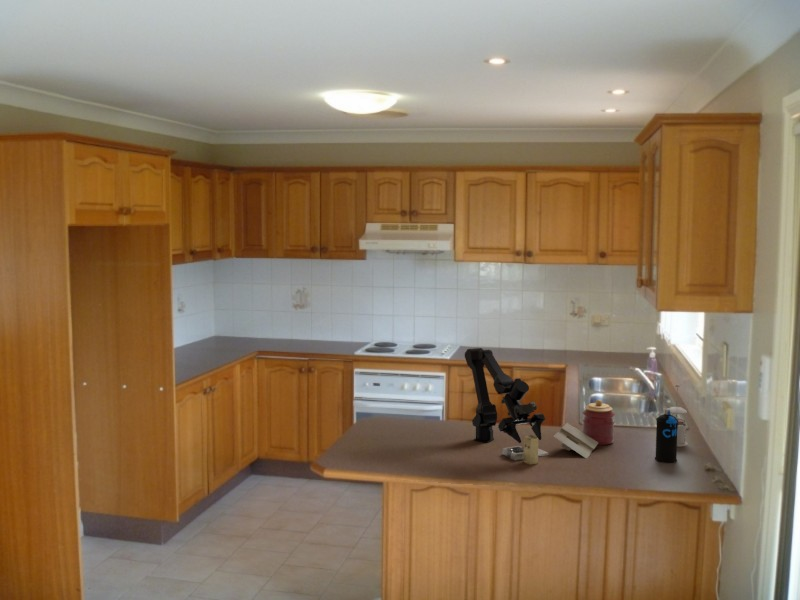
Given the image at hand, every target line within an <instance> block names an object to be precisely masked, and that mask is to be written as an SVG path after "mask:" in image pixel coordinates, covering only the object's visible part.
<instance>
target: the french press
mask: <svg viewBox="0 0 800 600" xmlns="http://www.w3.org/2000/svg"><path fill="white" fill-rule="evenodd" d="M674 387H675V388H676V394H678V391H679V388H680V387H681V386H680V384H679V383H675V384H674ZM675 405H676V406H671V407H669V408H667V409H670V414H671V415H673V416H674V415H675V417H676V418H677V420H678V429H677V447H686V446H688V442H687V441H686V435H687V433H686V431H687V430H686V429H687V425H686V420H685V419H682V418H678V416H677V415H685V414H687V410H686V409H684V408H682V407H680V406H678V402H676V403H675Z"/></svg>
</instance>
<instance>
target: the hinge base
mask: <svg viewBox="0 0 800 600" xmlns="http://www.w3.org/2000/svg"><path fill="white" fill-rule="evenodd" d="M502 455H503V456H505V457H506V458H508V459H511V460H514V461H524V445H523V446H521V445H515V446H508V447H503V448H502ZM549 455H550V454H549V452H547V451H545V450H543V449H541V448H539V447H538V458H539V457H544V456H549Z"/></svg>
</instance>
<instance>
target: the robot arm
mask: <svg viewBox="0 0 800 600" xmlns="http://www.w3.org/2000/svg"><path fill="white" fill-rule="evenodd" d="M464 359H465V362H466V365H467V366H468V367H469V368H470V369H471V373H472V377H473V382H474V389H475V392H476V399H477V406H476V409H475V413H476V414H475V416H474V417H473V419H472V420H471V421H472V426H473V427H475V438H474V439H473V441H477V442H480V443H481V442H482V443H489V442H491V441H493V440H495V437H494V429H493V426H494V427H495V426H497V420H498V412H497V407H496V406H497V405H495V403H494V404H493V403H492V402H491V400H490V396H489V395H490V394H489V389H488V385H487V379H486V375H485V369H484V367H485V368H486V369H487V371H488V373H489V375H490V376H491V377H492V378H491V379H493V388H494V390H495V392H496V393H497V395H504V396H502V399H501V402H500V403H501V404H502V405H505V407H506V408H507V411H508V412H507V416H509V417H503V418H502V419H501V421H500V422H499V423H498V430H499V431H500V432H503V433H504V434H507V435H508V436H510V437H511V438H513V439H514V440H515V441H516V442H517V443H519V444H521V443H522V440H521V437H520V434H519V432H518V430H517V426H520V425H528V424H529V425H530V427H531V430H532V432H533V433H534V436H535V437H537V438H538V441H542V427H541V426H542V424H543V423H544V421H545V420H546V417H545V415H544V414H543V413H542V412H541V413H540V412H539V413H535V414H532V416H531V413H534V412H535V411H536V410H537V409H538V407H537V404H536V403H535V401H530V402H529V403H528V404H522V403H521V400H523V399H524V397H526V396H525V395H526V394H527V393H528V391H529V389H530V386H529V384H528V383H527V382H525V380H522V379H521V378H517V377H516V378H515V380H513V378H512V377H511V376H510V375H508V374H507V373H505V372H504V371H503V369H502V367H501V366H500V364H499V362H497V359H495V357H494V354H493V350H491V349H483V347H477V348H476V347H475V348H467V349H466V351H465V352H464ZM530 416H531V417H530ZM528 417H530V418H528Z"/></svg>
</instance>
